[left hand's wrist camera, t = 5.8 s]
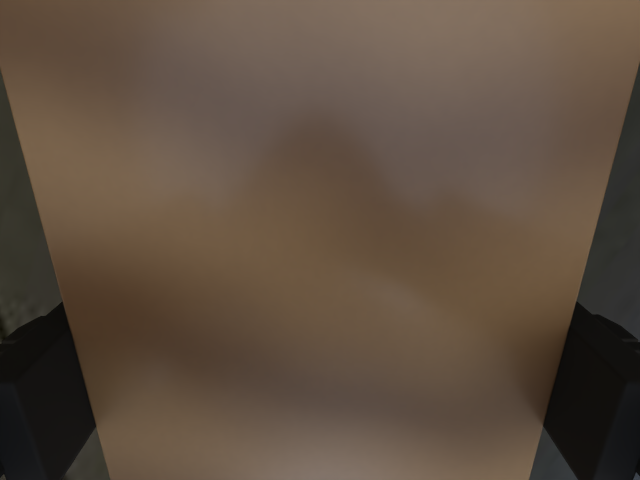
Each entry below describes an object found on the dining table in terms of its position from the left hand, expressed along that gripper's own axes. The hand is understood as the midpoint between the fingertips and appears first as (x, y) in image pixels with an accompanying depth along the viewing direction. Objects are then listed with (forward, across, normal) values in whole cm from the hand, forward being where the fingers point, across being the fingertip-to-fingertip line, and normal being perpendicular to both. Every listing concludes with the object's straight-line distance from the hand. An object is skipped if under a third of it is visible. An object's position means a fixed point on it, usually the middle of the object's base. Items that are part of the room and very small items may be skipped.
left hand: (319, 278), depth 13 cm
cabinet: (+4, 0, -6) cm, 7 cm away
